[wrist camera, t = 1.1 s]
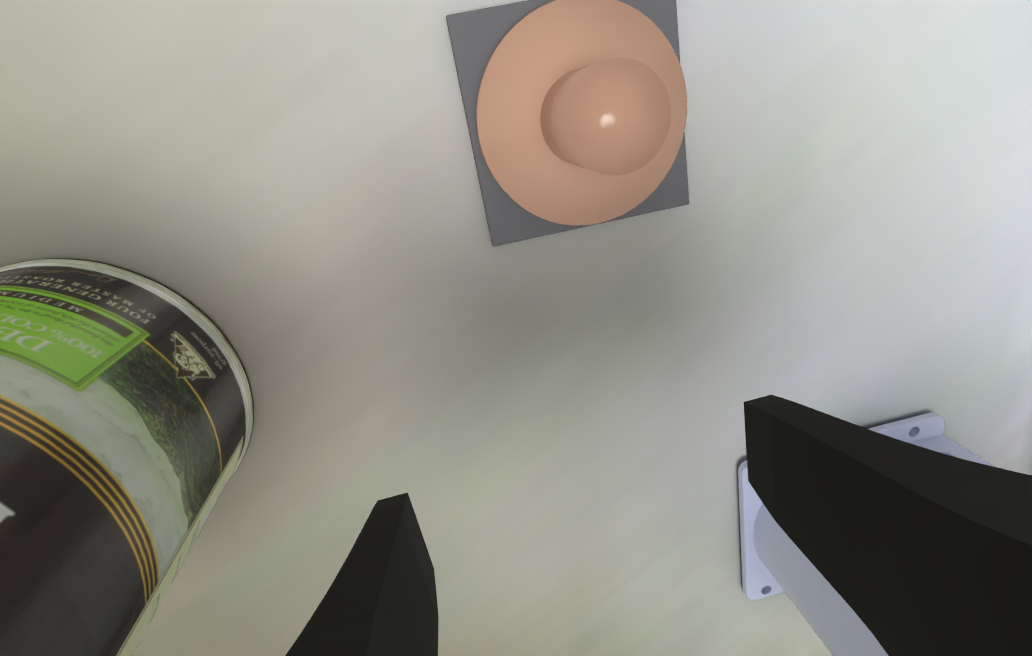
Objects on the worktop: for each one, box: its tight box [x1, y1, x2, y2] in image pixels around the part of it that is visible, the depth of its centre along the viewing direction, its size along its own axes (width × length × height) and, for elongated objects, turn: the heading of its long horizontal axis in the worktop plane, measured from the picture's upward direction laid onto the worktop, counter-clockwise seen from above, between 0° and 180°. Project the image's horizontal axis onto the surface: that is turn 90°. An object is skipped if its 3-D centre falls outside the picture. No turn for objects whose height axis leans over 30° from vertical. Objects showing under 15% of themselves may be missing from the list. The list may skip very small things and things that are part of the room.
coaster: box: [446, 0, 689, 247], centre depth 18 cm, size 7×7×1 cm
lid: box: [476, 0, 687, 225], centre depth 16 cm, size 7×7×4 cm
